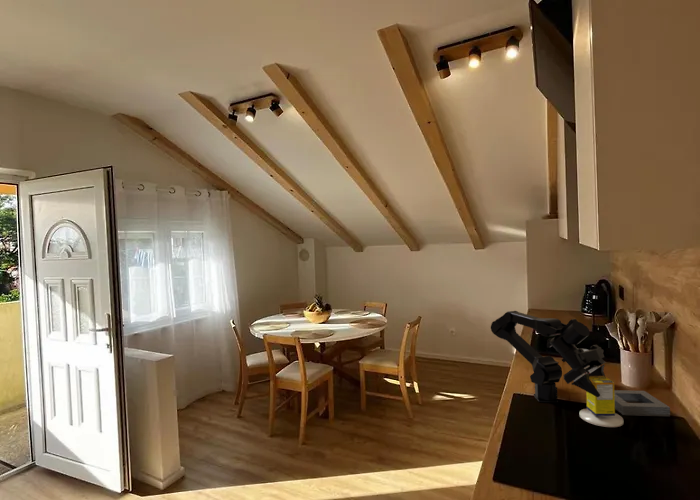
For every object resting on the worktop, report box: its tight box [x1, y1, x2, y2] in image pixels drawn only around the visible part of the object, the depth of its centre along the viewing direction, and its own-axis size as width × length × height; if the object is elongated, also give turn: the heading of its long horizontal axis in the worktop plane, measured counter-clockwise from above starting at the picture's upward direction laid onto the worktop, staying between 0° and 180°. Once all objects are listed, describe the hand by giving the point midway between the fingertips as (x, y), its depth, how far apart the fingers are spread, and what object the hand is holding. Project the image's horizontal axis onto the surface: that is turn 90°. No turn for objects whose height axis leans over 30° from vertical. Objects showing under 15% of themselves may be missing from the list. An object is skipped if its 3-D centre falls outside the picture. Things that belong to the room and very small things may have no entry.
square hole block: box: [614, 389, 671, 417], centre depth 135 cm, size 14×14×3 cm
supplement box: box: [585, 375, 616, 416], centre depth 128 cm, size 6×6×11 cm
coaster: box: [578, 408, 624, 428], centre depth 128 cm, size 12×12×1 cm
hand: (604, 393), depth 127 cm, fingers closed on supplement box, 8 cm apart
